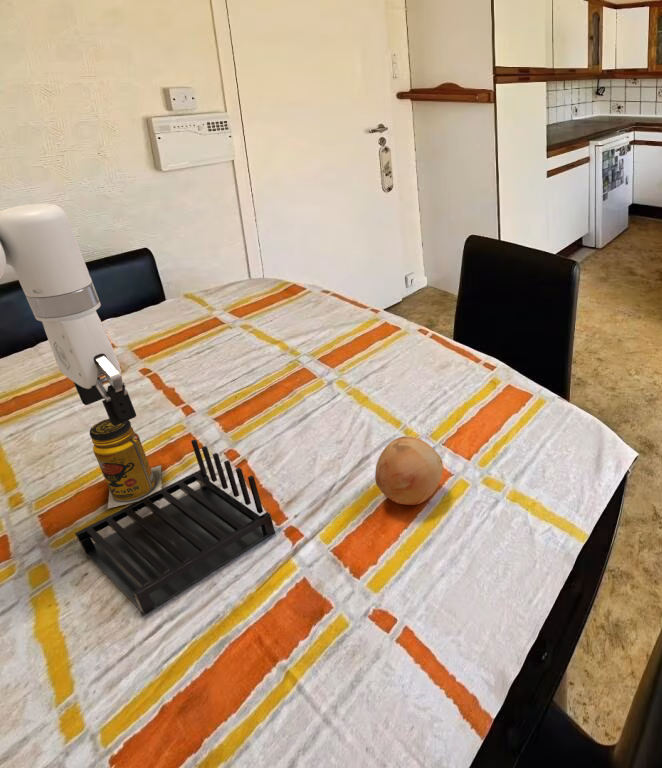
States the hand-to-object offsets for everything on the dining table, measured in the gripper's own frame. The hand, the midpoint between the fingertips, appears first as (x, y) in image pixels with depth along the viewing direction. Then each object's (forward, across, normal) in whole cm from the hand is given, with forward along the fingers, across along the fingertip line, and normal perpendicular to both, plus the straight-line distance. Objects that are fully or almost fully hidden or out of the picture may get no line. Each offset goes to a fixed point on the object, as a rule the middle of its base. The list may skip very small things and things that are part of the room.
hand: (109, 410), depth 91 cm
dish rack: (+14, +18, -3) cm, 23 cm away
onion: (+14, +37, +23) cm, 46 cm away
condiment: (+14, 0, -1) cm, 14 cm away
